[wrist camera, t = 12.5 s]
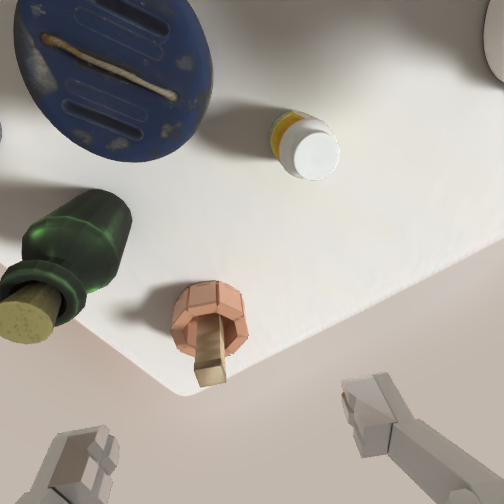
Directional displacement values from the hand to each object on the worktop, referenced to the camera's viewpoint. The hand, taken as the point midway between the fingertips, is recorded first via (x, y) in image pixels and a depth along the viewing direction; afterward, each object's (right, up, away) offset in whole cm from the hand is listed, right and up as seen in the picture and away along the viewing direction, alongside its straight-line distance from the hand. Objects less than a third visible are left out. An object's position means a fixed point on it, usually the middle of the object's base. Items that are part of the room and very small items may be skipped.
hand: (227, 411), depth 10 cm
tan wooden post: (-5, -3, +34) cm, 34 cm away
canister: (-8, +23, +19) cm, 31 cm away
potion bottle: (-17, +10, +25) cm, 32 cm away
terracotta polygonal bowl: (-5, -3, +34) cm, 35 cm away
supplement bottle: (+5, +18, +23) cm, 30 cm away
